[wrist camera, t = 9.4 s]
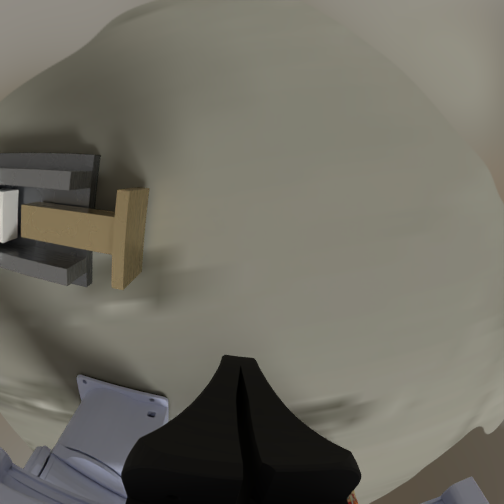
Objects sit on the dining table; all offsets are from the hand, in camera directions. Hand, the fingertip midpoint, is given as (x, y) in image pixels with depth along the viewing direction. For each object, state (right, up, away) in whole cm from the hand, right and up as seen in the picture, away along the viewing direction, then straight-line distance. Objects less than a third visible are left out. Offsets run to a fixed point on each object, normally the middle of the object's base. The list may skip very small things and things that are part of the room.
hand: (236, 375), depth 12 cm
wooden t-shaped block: (-12, +8, +8) cm, 16 cm away
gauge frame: (-17, +8, +8) cm, 20 cm away
